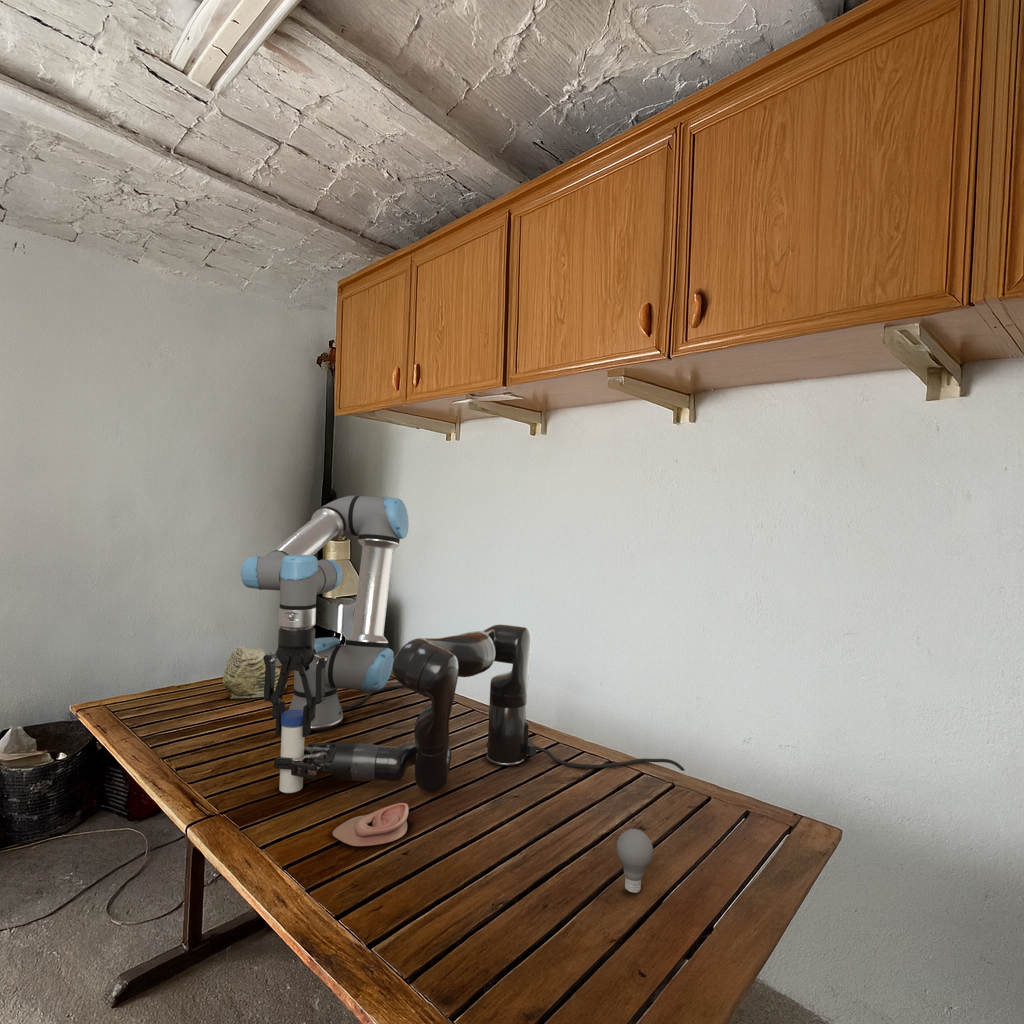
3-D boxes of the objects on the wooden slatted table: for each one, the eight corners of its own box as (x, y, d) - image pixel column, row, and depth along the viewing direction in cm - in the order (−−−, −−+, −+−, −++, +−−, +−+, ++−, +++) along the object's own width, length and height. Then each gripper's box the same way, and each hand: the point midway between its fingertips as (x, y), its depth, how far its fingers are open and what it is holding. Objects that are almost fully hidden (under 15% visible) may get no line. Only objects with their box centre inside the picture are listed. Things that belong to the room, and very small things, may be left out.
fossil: (218, 695, 195) (220, 647, 195) (278, 685, 208) (279, 640, 207) (228, 703, 189) (230, 653, 188) (289, 692, 201) (290, 645, 201)
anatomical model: (325, 820, 116) (352, 792, 127) (324, 841, 116) (352, 812, 128) (392, 830, 114) (415, 801, 125) (392, 852, 114) (414, 821, 125)
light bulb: (610, 879, 108) (613, 822, 108) (644, 879, 109) (647, 822, 109) (619, 902, 102) (622, 840, 102) (655, 901, 103) (658, 840, 103)
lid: (311, 720, 138) (311, 711, 138) (295, 728, 134) (295, 719, 133) (292, 716, 140) (292, 708, 140) (275, 724, 135) (275, 715, 135)
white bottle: (275, 792, 135) (278, 719, 135) (285, 782, 140) (287, 712, 139) (297, 793, 135) (300, 721, 134) (306, 783, 139) (308, 713, 139)
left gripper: (247, 628, 133) (243, 737, 134) (332, 632, 132) (328, 743, 133) (263, 621, 141) (259, 725, 141) (344, 625, 140) (340, 730, 140)
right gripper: (366, 732, 144) (292, 728, 144) (349, 758, 129) (266, 753, 130) (365, 765, 144) (291, 761, 144) (347, 794, 130) (265, 789, 130)
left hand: (293, 733), depth 137 cm, fingers closed on lid, 5 cm apart
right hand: (280, 757), depth 137 cm, fingers closed on white bottle, 4 cm apart
